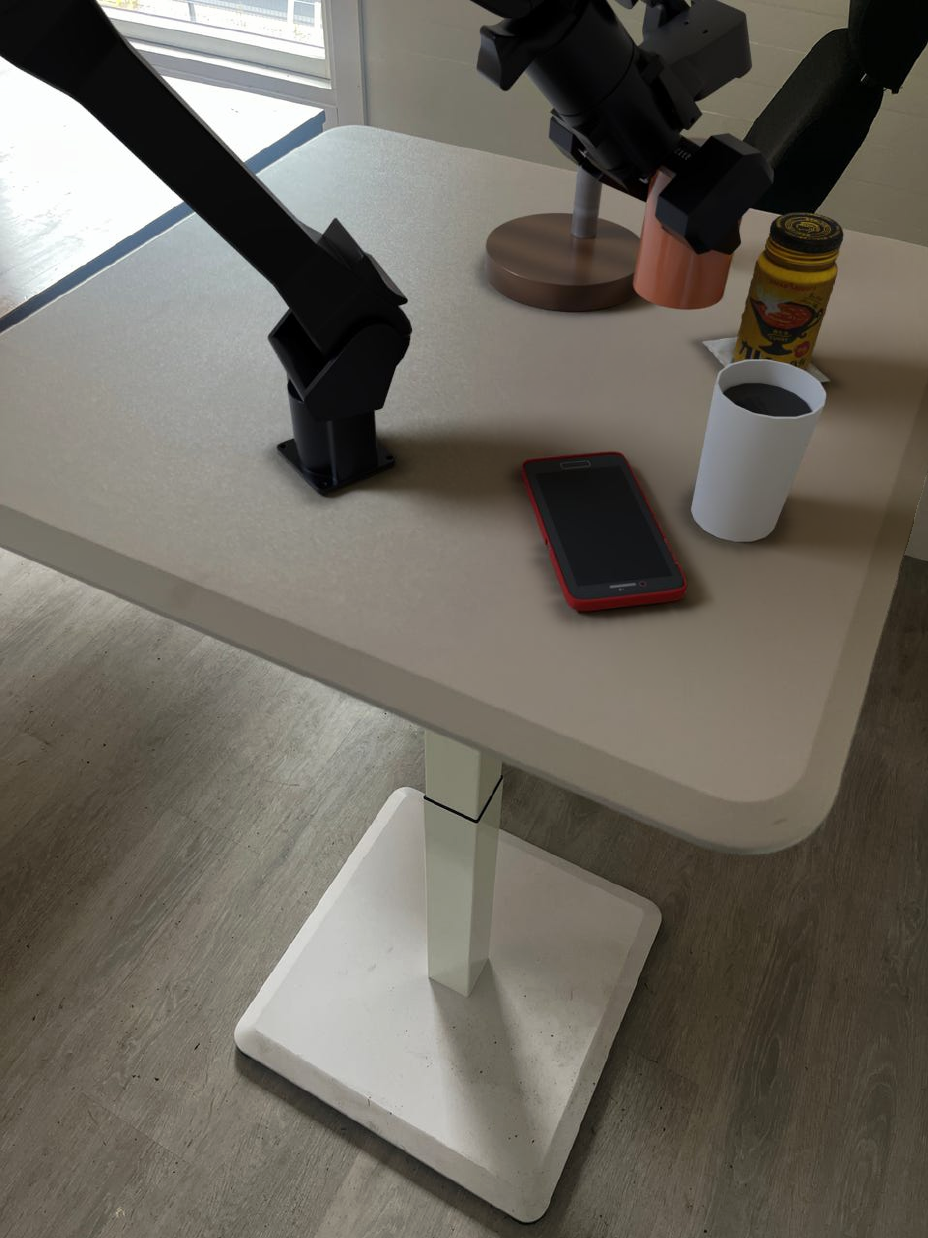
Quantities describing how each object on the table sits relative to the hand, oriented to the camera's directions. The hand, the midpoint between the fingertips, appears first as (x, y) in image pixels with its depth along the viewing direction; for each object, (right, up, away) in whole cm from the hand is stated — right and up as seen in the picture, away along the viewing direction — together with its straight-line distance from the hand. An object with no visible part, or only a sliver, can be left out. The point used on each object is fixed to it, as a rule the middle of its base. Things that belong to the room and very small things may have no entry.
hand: (705, 228), depth 67 cm
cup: (-1, -3, +3) cm, 5 cm away
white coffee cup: (+1, -21, -3) cm, 21 cm away
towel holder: (-8, +5, +21) cm, 23 cm away
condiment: (+8, -7, +11) cm, 15 cm away
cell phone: (-9, -22, -5) cm, 25 cm away
